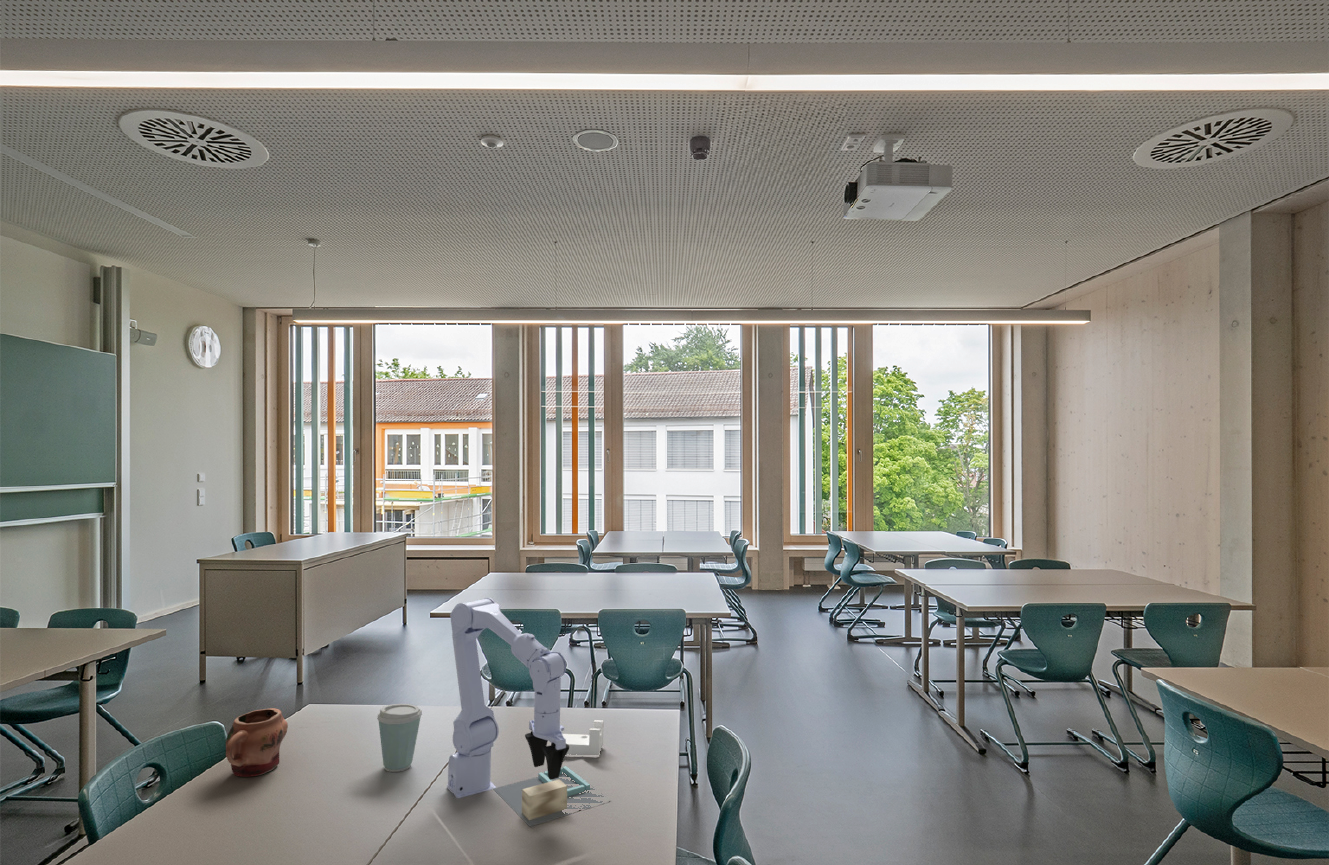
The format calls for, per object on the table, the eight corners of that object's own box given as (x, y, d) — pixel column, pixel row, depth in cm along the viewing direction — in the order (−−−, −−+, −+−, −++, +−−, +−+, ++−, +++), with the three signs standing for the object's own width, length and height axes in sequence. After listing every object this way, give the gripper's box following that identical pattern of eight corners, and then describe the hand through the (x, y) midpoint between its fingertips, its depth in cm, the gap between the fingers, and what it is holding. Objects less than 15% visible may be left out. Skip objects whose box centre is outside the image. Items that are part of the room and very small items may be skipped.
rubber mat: (529, 829, 147) (529, 826, 147) (492, 791, 164) (493, 788, 164) (611, 804, 158) (611, 801, 158) (569, 770, 175) (569, 768, 176)
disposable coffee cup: (406, 755, 184) (408, 697, 185) (429, 766, 178) (430, 706, 178) (367, 768, 176) (369, 707, 177) (390, 780, 169) (391, 717, 170)
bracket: (603, 748, 191) (603, 720, 191) (598, 759, 184) (599, 729, 184) (556, 746, 192) (557, 718, 192) (550, 757, 185) (550, 728, 185)
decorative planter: (256, 790, 163) (258, 730, 164) (202, 791, 163) (205, 730, 163) (297, 756, 183) (299, 702, 184) (250, 756, 183) (252, 702, 183)
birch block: (529, 820, 150) (529, 796, 150) (521, 812, 153) (522, 789, 153) (566, 808, 155) (567, 785, 155) (558, 801, 158) (559, 779, 158)
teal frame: (561, 798, 160) (561, 792, 160) (538, 778, 170) (538, 773, 170) (590, 789, 164) (590, 784, 164) (566, 770, 174) (566, 765, 174)
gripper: (578, 715, 152) (577, 779, 151) (549, 697, 163) (548, 756, 163) (549, 721, 147) (548, 787, 147) (521, 702, 159) (520, 763, 159)
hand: (546, 771), depth 154 cm, fingers open, 7 cm apart
